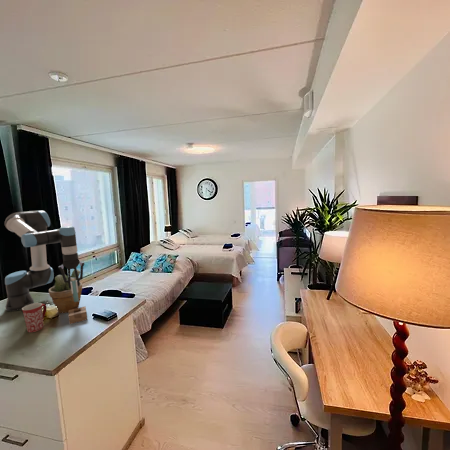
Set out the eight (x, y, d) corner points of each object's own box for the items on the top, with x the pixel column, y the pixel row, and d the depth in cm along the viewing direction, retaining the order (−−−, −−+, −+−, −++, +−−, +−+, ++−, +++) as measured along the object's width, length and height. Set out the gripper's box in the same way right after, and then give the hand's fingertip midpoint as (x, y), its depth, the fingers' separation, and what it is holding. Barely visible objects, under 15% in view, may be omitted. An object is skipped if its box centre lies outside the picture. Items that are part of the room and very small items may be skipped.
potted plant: (66, 317, 155) (61, 278, 152) (44, 314, 161) (38, 276, 158) (90, 304, 172) (86, 268, 169) (70, 302, 178) (65, 267, 175)
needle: (73, 300, 152) (70, 278, 150) (78, 299, 153) (75, 277, 151) (73, 302, 150) (70, 279, 148) (78, 301, 151) (75, 278, 149)
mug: (35, 334, 138) (31, 310, 136) (21, 333, 140) (17, 309, 138) (54, 322, 150) (51, 300, 148) (41, 321, 152) (38, 299, 150)
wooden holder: (69, 318, 154) (68, 310, 154) (86, 313, 159) (85, 306, 158) (69, 324, 147) (68, 316, 146) (87, 319, 151) (86, 311, 151)
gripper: (54, 256, 141) (59, 297, 144) (85, 252, 148) (89, 291, 151) (55, 254, 147) (60, 293, 150) (84, 250, 155) (88, 287, 158)
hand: (75, 292), depth 151 cm, fingers closed on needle, 2 cm apart
